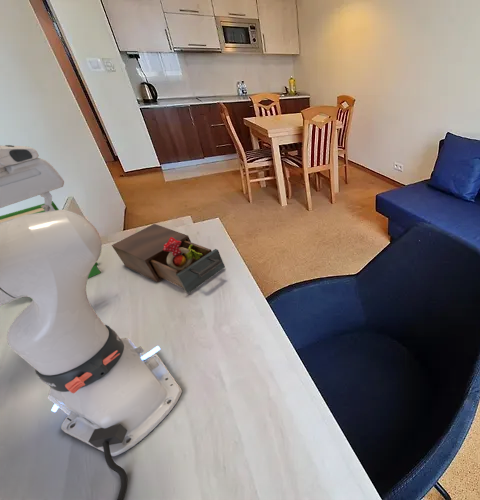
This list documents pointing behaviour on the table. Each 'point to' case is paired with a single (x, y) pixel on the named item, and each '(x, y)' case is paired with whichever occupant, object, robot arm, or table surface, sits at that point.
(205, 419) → the table surface
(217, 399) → the table surface
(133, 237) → the cabinet
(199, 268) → the drawer
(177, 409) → the table surface
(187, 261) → the bird rattle
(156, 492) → the table surface
